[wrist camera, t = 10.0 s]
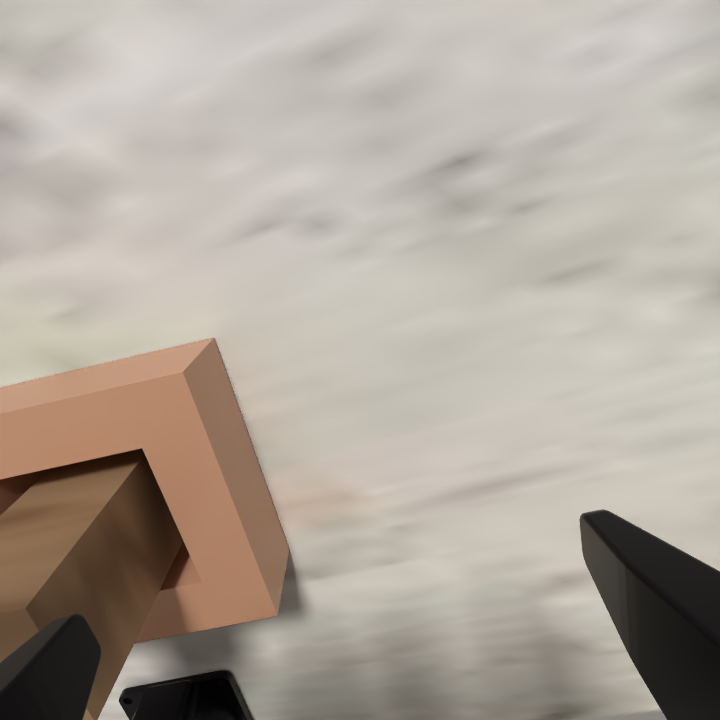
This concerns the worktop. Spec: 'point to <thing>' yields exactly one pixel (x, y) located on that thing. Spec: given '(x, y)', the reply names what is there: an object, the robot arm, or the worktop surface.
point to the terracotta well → (163, 473)
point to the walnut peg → (87, 557)
